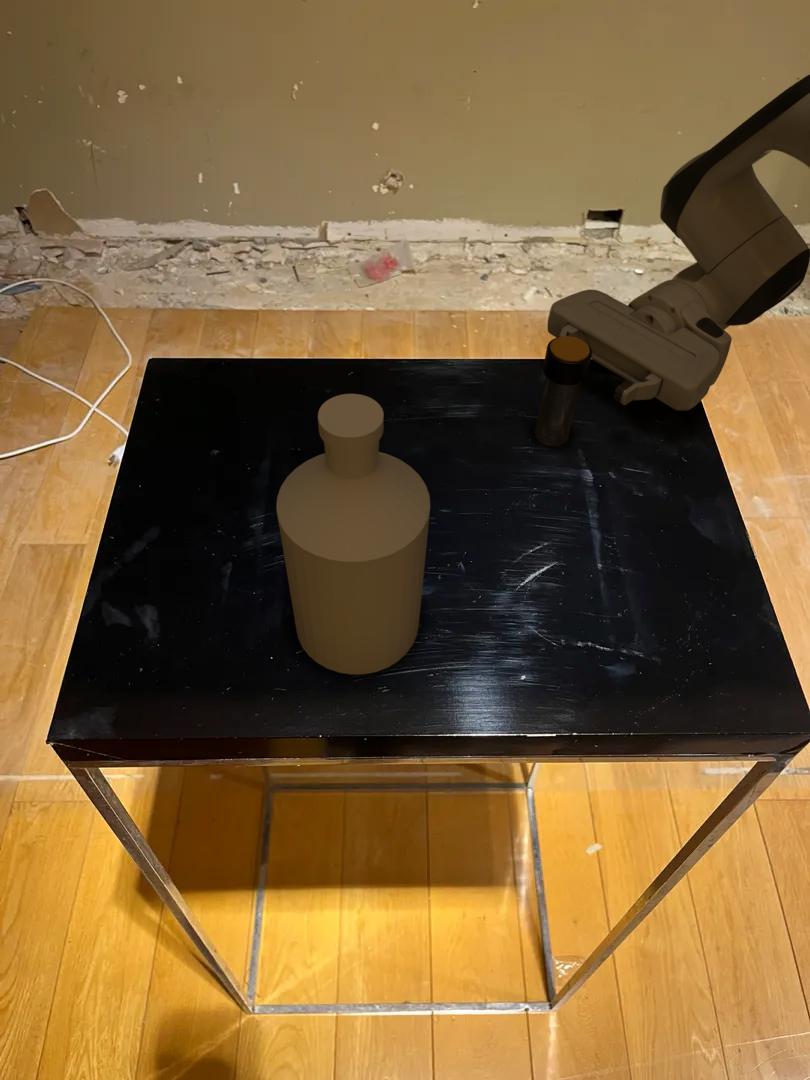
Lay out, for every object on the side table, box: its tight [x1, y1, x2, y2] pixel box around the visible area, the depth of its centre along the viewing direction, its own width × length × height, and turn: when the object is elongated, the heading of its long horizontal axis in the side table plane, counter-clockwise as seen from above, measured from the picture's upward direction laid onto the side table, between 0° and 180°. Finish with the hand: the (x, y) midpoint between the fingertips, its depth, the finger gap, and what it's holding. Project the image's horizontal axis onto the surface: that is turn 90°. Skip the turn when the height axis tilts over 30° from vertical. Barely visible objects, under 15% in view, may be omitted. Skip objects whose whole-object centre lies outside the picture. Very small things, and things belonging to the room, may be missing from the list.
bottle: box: [275, 393, 431, 675], centre depth 67 cm, size 12×12×25 cm
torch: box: [533, 336, 592, 448], centre depth 88 cm, size 5×5×12 cm
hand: (585, 375), depth 90 cm, fingers open, 8 cm apart
